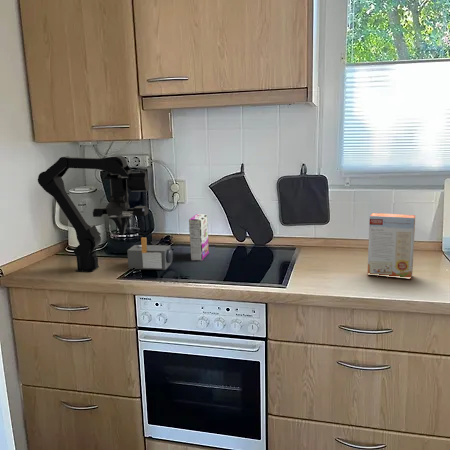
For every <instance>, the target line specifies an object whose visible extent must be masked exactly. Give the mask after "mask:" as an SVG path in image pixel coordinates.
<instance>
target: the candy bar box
mask: <svg viewBox="0 0 450 450" xmlns="http://www.w3.org/2000/svg"><path fill="white" fill-rule="evenodd" d="M208 221H209V220H208V214H206V213H196V214H195V215H193V216H191V218H189V219H188V225H189V228H188V231H189V247H190V261H198V262H199V261H200V262H202V261H203V260H205V259H206V257H207V256H208V255H209V254H210V251H209V250H210V249H209V248H210V247H209V246H210V245H209V227H208V226H209V225H208Z"/></svg>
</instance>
